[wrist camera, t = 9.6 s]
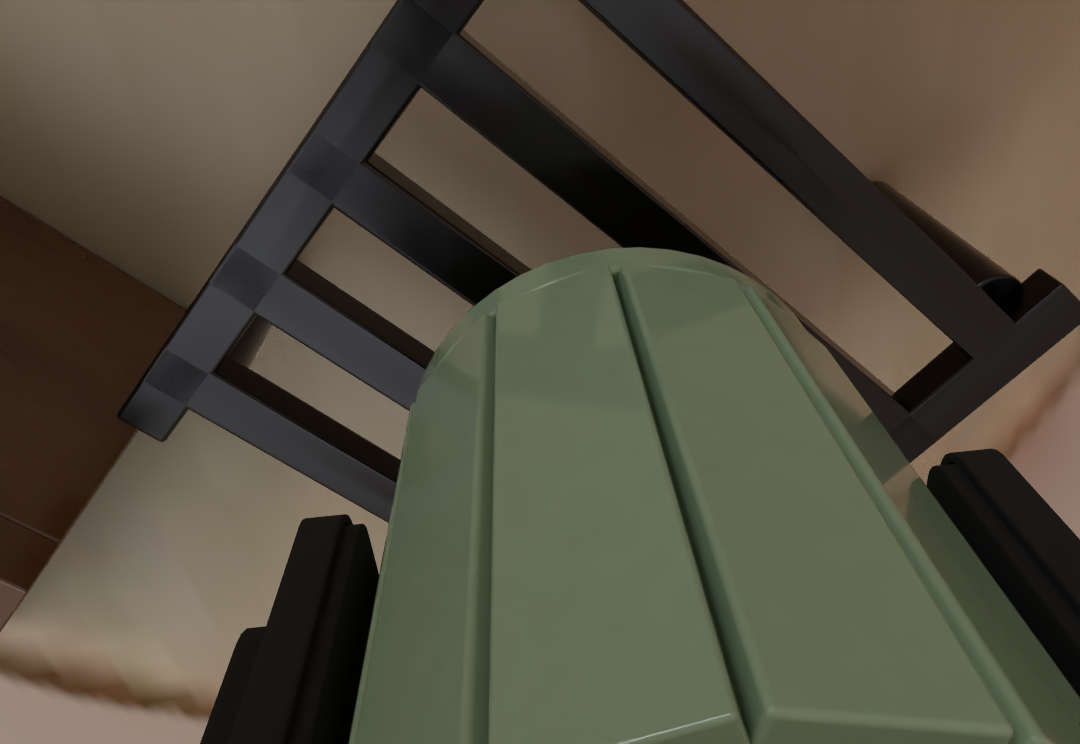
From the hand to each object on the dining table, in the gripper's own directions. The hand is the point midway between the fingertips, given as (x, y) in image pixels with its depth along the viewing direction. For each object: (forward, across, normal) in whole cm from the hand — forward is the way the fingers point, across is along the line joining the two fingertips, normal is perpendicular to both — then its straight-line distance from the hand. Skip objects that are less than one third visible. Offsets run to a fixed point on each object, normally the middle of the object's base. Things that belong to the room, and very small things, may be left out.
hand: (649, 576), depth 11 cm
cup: (+3, 0, 0) cm, 3 cm away
